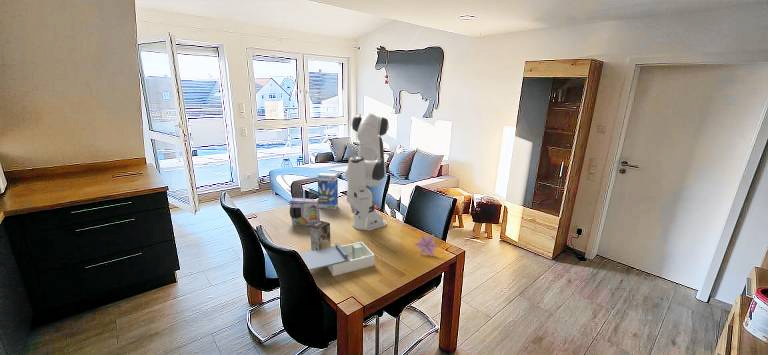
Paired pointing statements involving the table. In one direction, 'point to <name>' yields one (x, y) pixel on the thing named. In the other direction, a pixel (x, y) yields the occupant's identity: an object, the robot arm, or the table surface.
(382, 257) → the table surface
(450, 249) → the table surface
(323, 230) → the coffee box
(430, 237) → the lily
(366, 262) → the mailer box
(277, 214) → the table surface
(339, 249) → the lid
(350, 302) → the table surface
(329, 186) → the string lights box
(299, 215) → the cake pan box
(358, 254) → the parcel block
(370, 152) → the robot arm
